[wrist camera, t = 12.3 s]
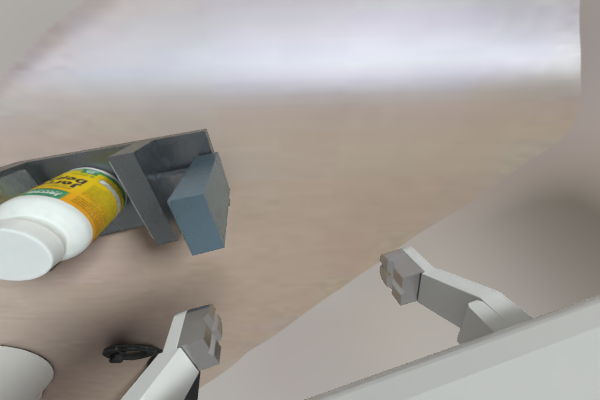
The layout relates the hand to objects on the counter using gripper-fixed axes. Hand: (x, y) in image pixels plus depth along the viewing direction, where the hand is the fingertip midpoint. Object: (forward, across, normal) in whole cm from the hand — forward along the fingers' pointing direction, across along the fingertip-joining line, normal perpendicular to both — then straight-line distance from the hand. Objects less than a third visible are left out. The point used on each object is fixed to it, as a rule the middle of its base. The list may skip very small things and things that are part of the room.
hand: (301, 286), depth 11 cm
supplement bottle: (+20, +20, -1) cm, 28 cm away
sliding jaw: (+20, +10, 0) cm, 23 cm away
